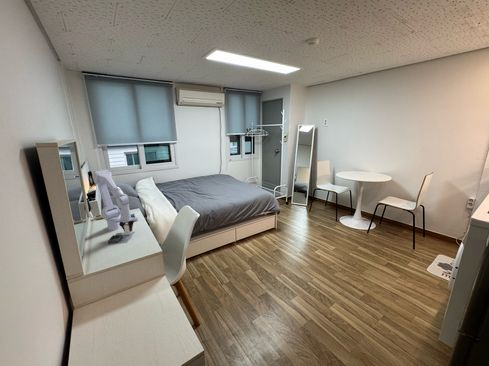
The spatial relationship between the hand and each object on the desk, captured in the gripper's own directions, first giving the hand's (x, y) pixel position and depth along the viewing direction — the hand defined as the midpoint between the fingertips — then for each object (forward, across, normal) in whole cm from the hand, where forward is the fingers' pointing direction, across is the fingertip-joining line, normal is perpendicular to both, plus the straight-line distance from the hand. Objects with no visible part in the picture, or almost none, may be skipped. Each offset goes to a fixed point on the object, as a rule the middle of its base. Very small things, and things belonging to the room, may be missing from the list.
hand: (128, 231), depth 144 cm
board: (+3, -3, -4) cm, 6 cm away
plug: (+2, 0, 0) cm, 2 cm away
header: (+2, -6, -8) cm, 10 cm away
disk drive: (+4, -10, +26) cm, 28 cm away
